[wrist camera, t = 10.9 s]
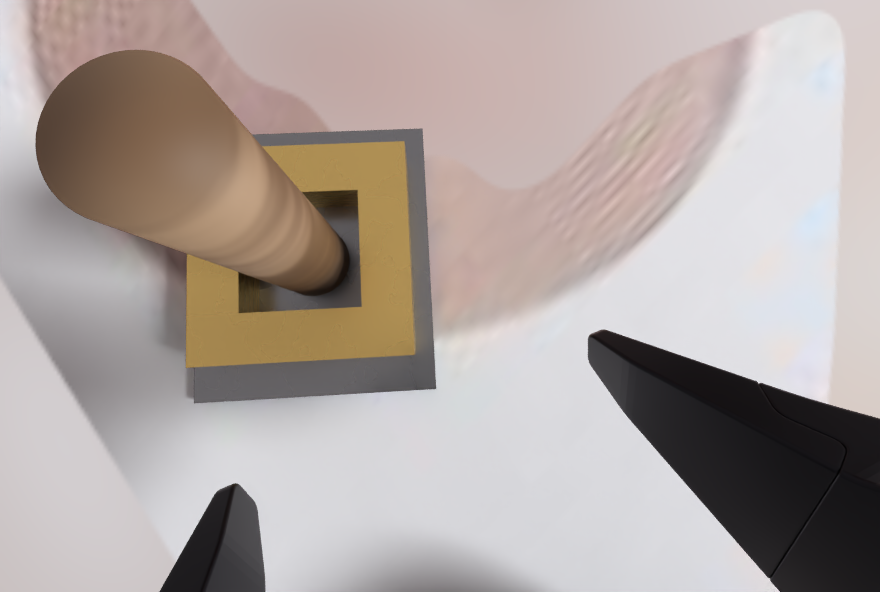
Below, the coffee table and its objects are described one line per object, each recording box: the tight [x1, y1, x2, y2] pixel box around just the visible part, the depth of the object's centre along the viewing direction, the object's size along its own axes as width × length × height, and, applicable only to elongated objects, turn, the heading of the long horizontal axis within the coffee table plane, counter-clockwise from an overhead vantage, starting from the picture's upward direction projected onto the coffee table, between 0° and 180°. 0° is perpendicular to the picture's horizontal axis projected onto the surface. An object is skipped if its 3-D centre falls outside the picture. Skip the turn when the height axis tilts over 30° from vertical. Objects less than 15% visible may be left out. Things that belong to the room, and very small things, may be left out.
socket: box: [186, 129, 436, 403], centre depth 22 cm, size 15×13×3 cm
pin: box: [36, 50, 350, 296], centre depth 16 cm, size 4×4×14 cm
